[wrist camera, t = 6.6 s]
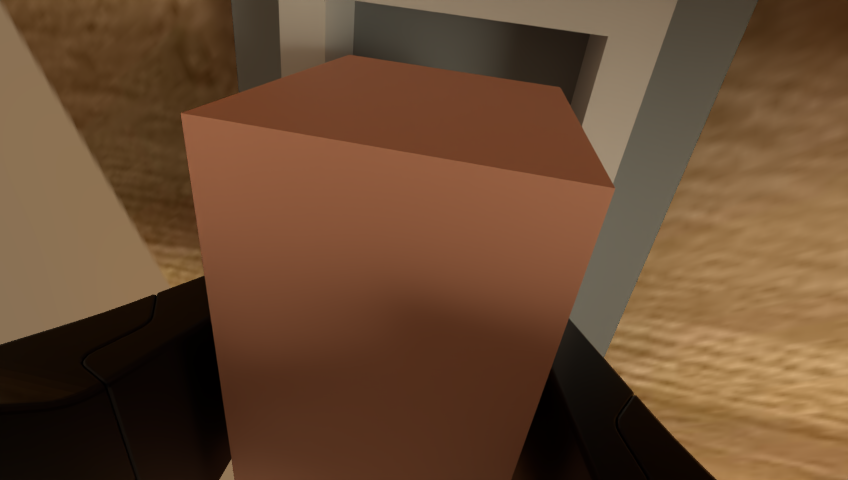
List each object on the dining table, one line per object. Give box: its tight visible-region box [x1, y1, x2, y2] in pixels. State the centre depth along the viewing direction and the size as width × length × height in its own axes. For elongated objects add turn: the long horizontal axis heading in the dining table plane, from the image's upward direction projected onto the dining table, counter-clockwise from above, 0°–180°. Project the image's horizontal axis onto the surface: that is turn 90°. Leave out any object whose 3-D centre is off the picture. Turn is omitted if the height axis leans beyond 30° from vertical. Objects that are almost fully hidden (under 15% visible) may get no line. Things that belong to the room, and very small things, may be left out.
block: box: [181, 55, 615, 480], centre depth 8 cm, size 8×4×5 cm, turn 173°
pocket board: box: [231, 0, 758, 358], centre depth 13 cm, size 16×12×4 cm
